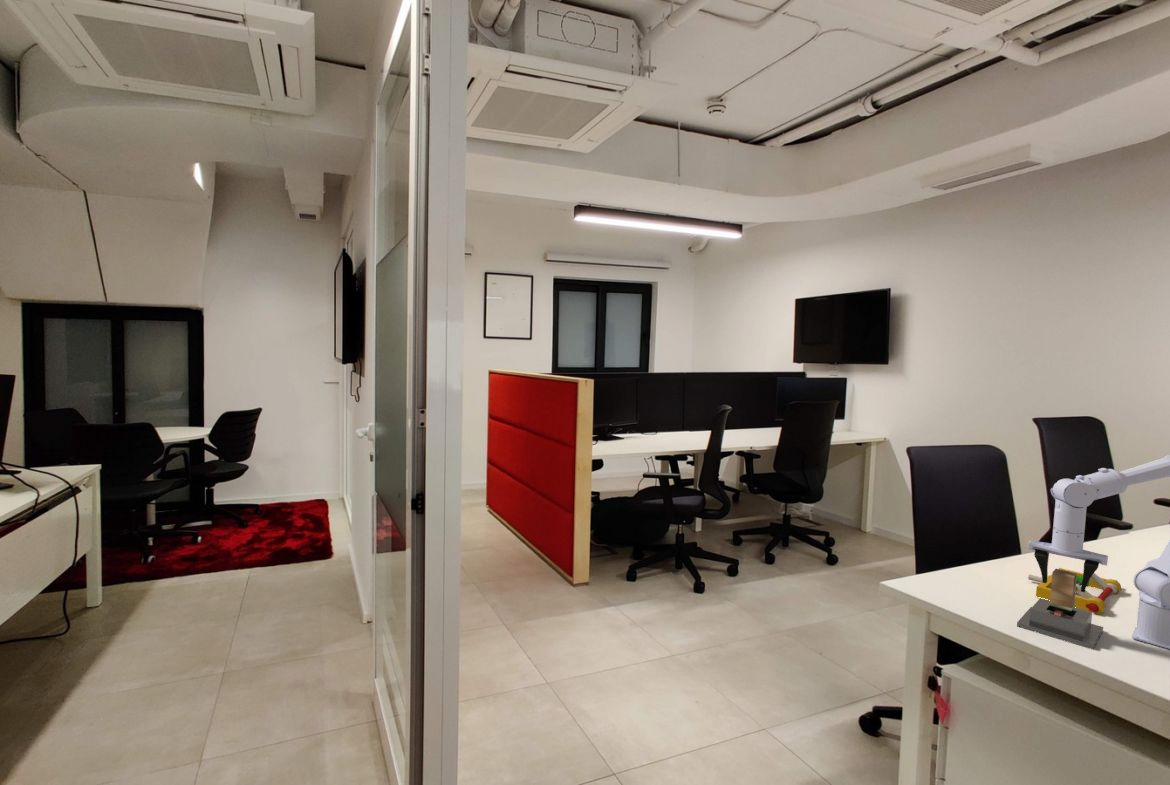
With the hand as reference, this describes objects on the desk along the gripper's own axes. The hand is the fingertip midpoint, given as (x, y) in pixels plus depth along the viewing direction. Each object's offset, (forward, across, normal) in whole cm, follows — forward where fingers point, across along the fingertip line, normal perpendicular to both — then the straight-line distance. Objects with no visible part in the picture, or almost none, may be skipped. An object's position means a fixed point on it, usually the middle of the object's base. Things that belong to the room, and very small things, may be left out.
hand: (1063, 586), depth 139 cm
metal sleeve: (+10, 0, 0) cm, 10 cm away
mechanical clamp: (+11, 0, -33) cm, 35 cm away
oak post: (+5, 0, 0) cm, 5 cm away
